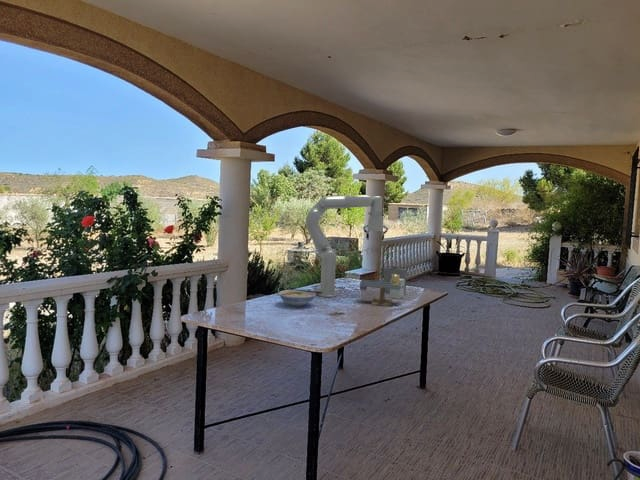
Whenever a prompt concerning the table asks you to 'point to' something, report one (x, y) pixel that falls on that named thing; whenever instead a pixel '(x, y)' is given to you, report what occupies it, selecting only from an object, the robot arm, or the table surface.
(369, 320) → the table surface
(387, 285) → the balance beam
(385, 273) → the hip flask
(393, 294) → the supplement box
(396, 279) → the brass weight
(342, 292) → the table surface
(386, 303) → the pivot stand
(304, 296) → the ramen bowl
